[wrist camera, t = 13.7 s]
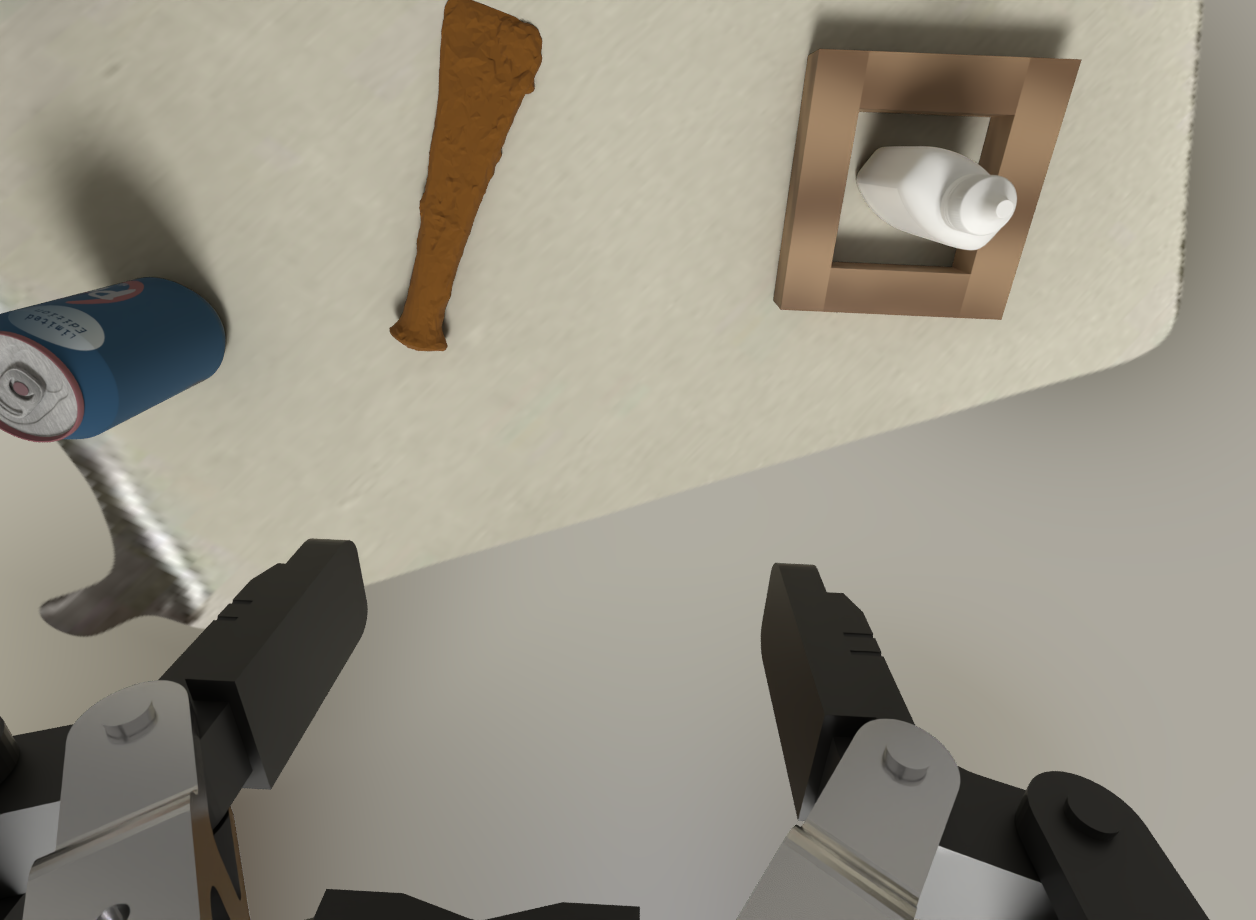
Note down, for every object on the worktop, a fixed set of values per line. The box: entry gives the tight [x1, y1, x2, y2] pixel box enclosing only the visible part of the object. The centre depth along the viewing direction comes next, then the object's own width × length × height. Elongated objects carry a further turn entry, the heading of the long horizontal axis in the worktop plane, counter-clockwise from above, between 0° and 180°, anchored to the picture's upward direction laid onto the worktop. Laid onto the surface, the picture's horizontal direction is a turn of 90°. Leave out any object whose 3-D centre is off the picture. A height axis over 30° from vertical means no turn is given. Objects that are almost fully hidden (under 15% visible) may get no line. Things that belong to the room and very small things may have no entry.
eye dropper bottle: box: [856, 146, 1017, 250], centre depth 31 cm, size 4×6×12 cm
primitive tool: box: [390, 0, 542, 351], centre depth 36 cm, size 19×6×4 cm, turn 162°
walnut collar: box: [773, 49, 1081, 320], centre depth 35 cm, size 13×13×2 cm
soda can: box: [0, 277, 225, 442], centre depth 36 cm, size 7×7×12 cm
